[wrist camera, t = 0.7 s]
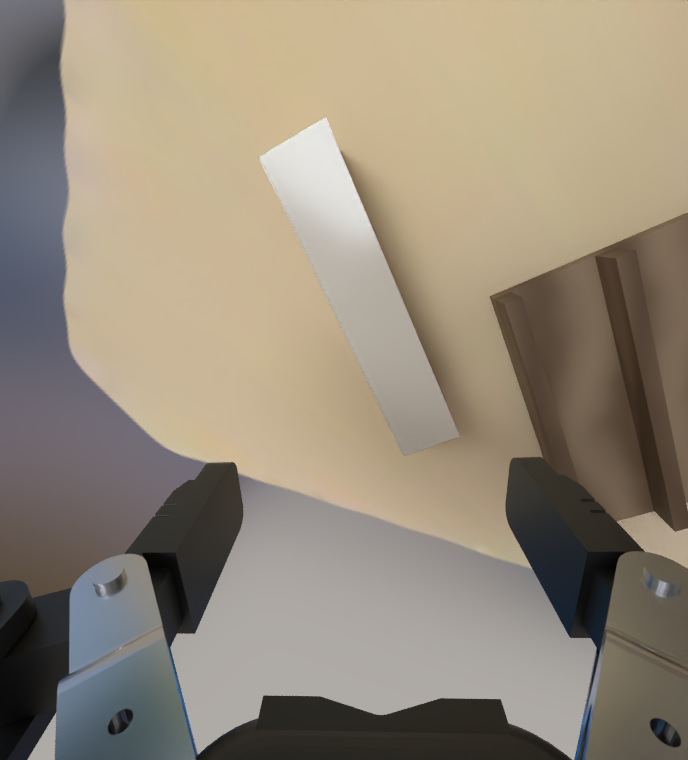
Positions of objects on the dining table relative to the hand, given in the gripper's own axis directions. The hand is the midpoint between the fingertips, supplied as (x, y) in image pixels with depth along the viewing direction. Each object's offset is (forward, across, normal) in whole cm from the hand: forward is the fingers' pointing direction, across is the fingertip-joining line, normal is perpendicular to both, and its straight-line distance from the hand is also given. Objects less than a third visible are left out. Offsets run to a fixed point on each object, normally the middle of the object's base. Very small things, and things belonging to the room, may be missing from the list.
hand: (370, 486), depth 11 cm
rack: (+20, -22, +5) cm, 30 cm away
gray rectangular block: (+21, -1, -3) cm, 21 cm away
